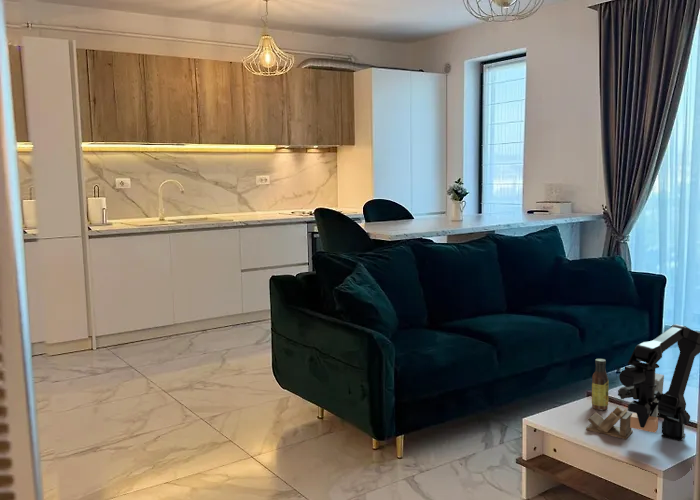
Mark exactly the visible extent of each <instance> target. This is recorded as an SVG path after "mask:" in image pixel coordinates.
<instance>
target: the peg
mask: <svg viewBox="0 0 700 500" xmlns="http://www.w3.org/2000/svg"><path fill="white" fill-rule="evenodd" d="M658 427H659V417H658V416H657V417H652V416H649V418H648V420H647V422H646V424H645V426H644V428H642V427H640V423H639V420H638V416H637V413H635V412H632V415H631V419H630V428H631V429H633V430H634V429H635V430H640V431H646V432H650V433H656V432H657V431H658Z"/></svg>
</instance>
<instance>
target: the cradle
mask: <svg viewBox="0 0 700 500" xmlns="http://www.w3.org/2000/svg"><path fill="white" fill-rule="evenodd" d="M632 414H633V412H630V411H628V409H626V408H624V409H623V410H622V409H621V408H620V407H619V406H617V407H615V409H614V410H613V411H611V412H610V413H609V414H608V415H607V417H605V419H604V417H603V416H602V415H600V414H599V413H598V412H597V411H595V412H594V413H593V414H592V415H591V416H590V417H589V418H588V419H587V421H588V422H589V423H590V424H589V425H588V426H586V427H585V430H586V431H590V432H594V433H597V434H602V435H606V436H612V437H615V438H619V439H623V440H628V438H629V437H630V436H631V435H632V434H633V433H634V432H633V430H634V429H632V428H630V419H631V415H632ZM617 422H619V426H616V424H617Z"/></svg>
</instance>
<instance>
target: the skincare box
mask: <svg viewBox="0 0 700 500" xmlns="http://www.w3.org/2000/svg"><path fill="white" fill-rule="evenodd" d="M664 379H665V375H664V374H660V373H657V372H655V384H656V388H655V391H659V392H660V393H661V394H662V393H663V392H664V391H663V390H664V381H665V380H664ZM663 394H664V393H663ZM654 402H656V403H658V402H659V401H657V398H656V399H655V400H654ZM658 413H659V412H658V405H657V407H656V408H655V410H654V412H653V414H652V417H657V418H658V417H659V415H658Z"/></svg>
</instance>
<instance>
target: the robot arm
mask: <svg viewBox="0 0 700 500" xmlns="http://www.w3.org/2000/svg"><path fill="white" fill-rule="evenodd" d="M675 344H677V347H678V350H679V353H678V357H677V361H676V364H675V367H674V371H673V374H672V377H671V381H670V384H669V388H668V391H666V392H665V393H662V394H661V393H660V392H659V391H655V388H656V384H655V373H656V369H658V368H660V365H659V364H658V362H659V361H660V360H662V358H663V354H664V352H665V351H666V350H668V349H669V348H671V347H672V346H673V345H675ZM699 354H700V331H696V330H694V329H691V328H689V327H687V325H686V326H685V325H682V324H677V323H676V324H672V325H671V327H670V328H668V329H667V330H666V331H664V332H662V333H660V335H658V336H657V337H656V338H654V339H653V340H650V341H643V342H641V343H639V344H637V345H636V346H635V347H634V350H633V351H632V353H631V356H630V357H629V359H628V362H627V364H628V365H626V366H624V369H623V370H621V371H620V373H619V374H618V378H619V381H620V383H621V384H622V385H623V386H622V387H620V388H619V389H618V390H617V396H618V397H619V398H620V400H625V399H631V398H632V401H630V402H629V403H628V404H627V412H629V413H636V414H637V416H638V420H639V423H640V427H642V428H644V426H645V424H646V422H647V420H648V418H649V416H652V414H653V412H654V410H655V408H656V407H657V405H658V412H659V415H658V417H659V418H661V419H663V420H662V422H661V437H663V438H667V439H673V440H675V441H676V440H677V441H680V442H681V441H683V439H684V438H685V436H686V433H685V425H688V423H689V422H690V421H691V415H690V414H689V413H688V411H687V410H686V407H687V402H686V399H685V391H686V388H687V385H688V381H689V378H690V375H691V371H692V368H693V365H694V361H695V358H696V356H698V355H699ZM656 398H657V401H659V402H658V403H656V402H654V400H655V399H656Z"/></svg>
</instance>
